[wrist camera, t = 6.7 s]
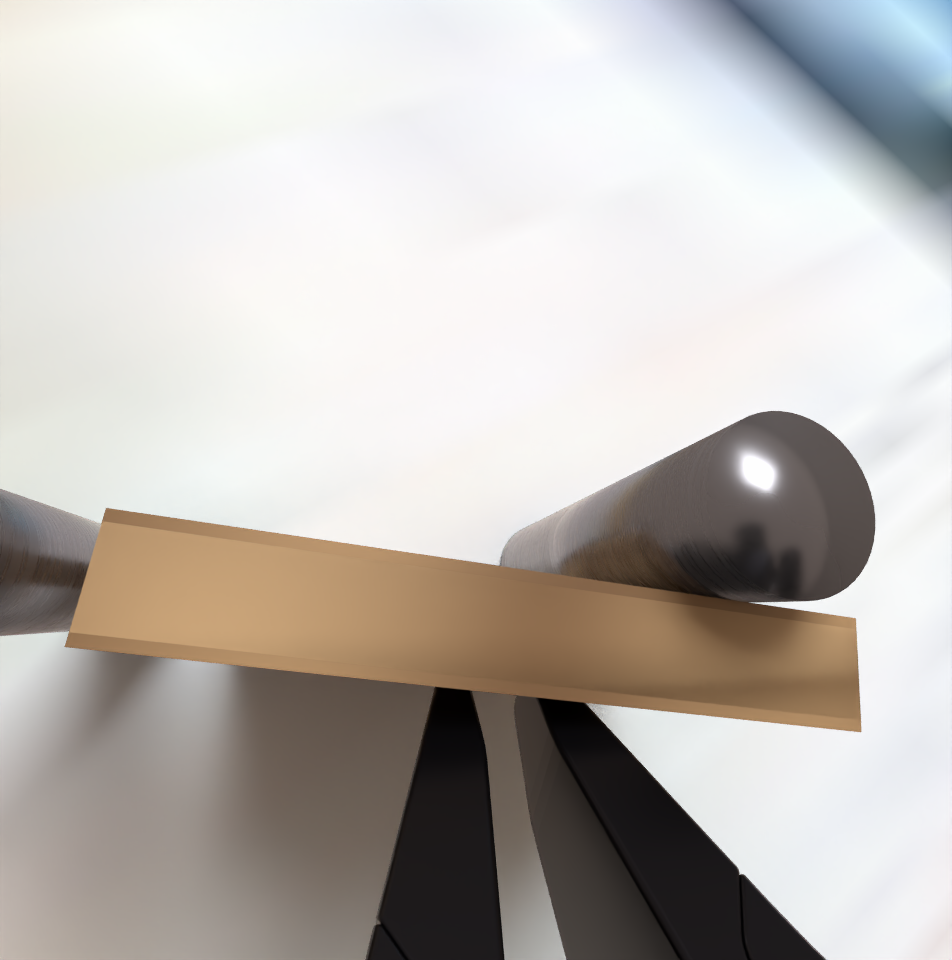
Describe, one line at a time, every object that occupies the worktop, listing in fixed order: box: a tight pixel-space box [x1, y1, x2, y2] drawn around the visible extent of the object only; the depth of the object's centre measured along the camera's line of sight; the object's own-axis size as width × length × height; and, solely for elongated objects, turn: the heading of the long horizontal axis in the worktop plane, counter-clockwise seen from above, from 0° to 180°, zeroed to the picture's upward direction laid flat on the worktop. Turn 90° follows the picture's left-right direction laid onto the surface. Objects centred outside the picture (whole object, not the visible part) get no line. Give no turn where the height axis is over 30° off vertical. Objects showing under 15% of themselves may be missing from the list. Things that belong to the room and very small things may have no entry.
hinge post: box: [0, 489, 101, 636], centre depth 9 cm, size 2×2×10 cm
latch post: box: [501, 411, 875, 602], centre depth 12 cm, size 2×2×10 cm
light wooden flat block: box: [65, 508, 861, 732], centre depth 11 cm, size 10×2×8 cm, turn 83°
